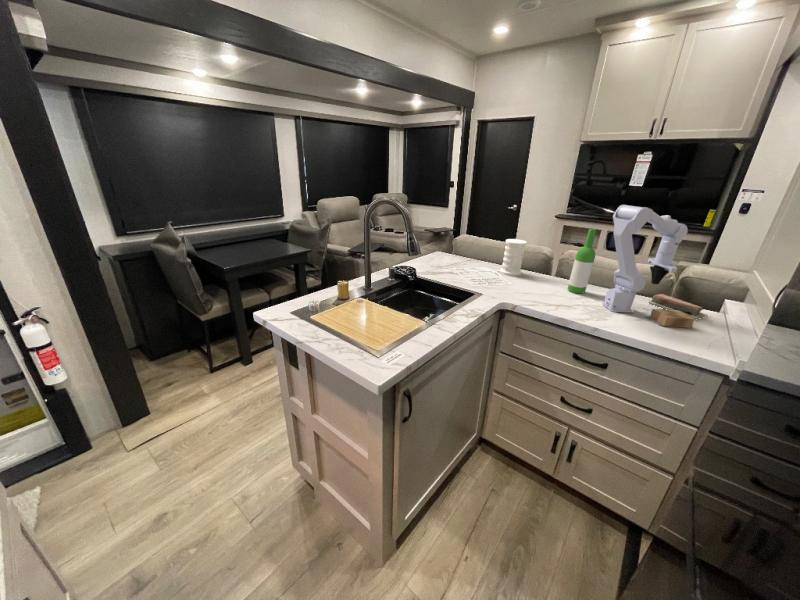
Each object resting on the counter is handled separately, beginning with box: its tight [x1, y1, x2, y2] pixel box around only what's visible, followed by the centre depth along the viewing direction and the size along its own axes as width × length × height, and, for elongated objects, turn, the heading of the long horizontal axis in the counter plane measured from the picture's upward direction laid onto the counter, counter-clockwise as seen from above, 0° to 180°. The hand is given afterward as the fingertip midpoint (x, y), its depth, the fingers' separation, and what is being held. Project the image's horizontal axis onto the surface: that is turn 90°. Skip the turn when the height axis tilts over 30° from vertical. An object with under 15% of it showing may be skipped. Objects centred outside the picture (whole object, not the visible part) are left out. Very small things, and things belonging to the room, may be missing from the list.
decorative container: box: [499, 238, 528, 277], centre depth 172 cm, size 12×12×18 cm
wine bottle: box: [567, 228, 597, 295], centre depth 145 cm, size 8×8×30 cm
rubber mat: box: [646, 315, 664, 327], centre depth 123 cm, size 12×8×1 cm, turn 86°
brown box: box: [649, 308, 696, 329], centre depth 121 cm, size 10×4×8 cm
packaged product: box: [647, 293, 709, 321], centre depth 134 cm, size 18×5×10 cm
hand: (654, 283), depth 133 cm, fingers closed
